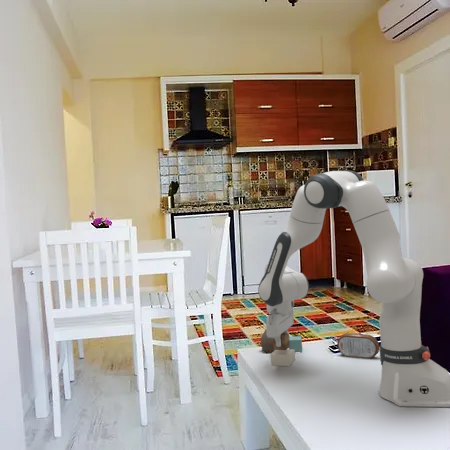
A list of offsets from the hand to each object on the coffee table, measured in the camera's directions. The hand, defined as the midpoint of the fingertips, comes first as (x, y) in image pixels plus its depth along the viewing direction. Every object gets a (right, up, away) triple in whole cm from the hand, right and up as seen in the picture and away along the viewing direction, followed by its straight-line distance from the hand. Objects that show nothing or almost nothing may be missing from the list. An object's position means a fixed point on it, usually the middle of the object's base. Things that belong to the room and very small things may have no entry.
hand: (281, 343), depth 185 cm
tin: (+28, -5, 0) cm, 28 cm away
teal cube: (+7, -6, +14) cm, 17 cm away
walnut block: (0, -2, 0) cm, 2 cm away
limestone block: (+1, -7, 0) cm, 7 cm away
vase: (-3, -7, +16) cm, 18 cm away
